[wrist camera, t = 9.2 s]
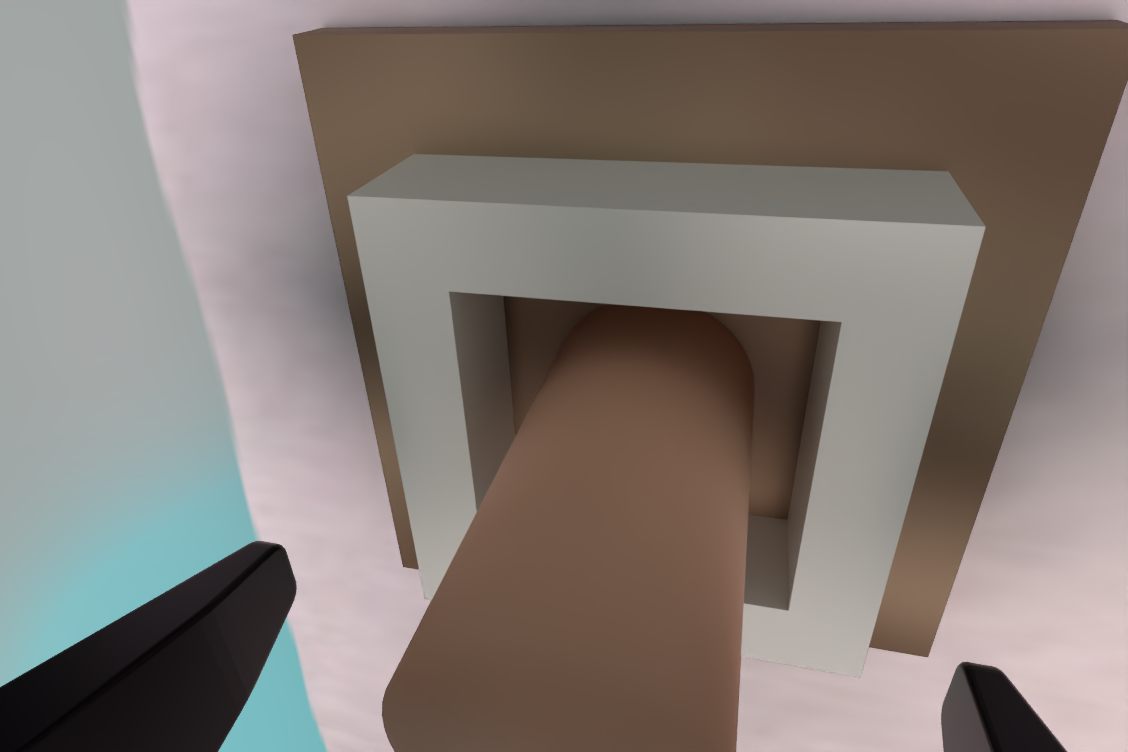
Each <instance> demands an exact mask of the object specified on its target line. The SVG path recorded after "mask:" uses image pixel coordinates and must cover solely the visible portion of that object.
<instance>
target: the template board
mask: <svg viewBox="0 0 1128 752" xmlns="http://www.w3.org/2000/svg"><path fill="white" fill-rule="evenodd" d="M293 40H294V44H295V49H296V54H297V59H298V64H299V68H300V73H301V78H302V83H303V88H304V93H305V97H306V102H307V107H308V112H309V117H310V121H311V126H312V131H313V136H314V141H315V145H316V150H317V155H318V160H319V165H320V169H321V174H322V179H323V184H324V189H325V193H326V198H327V203H328V208H329V213H330V218H331V222H332V227H333V232H334V237H335V242H336V246H337V251H338V256H339V261H340V266H341V270H342V275H343V280H344V285H345V290H346V294H347V299H348V304H349V309H350V314H351V318H352V323H353V328H354V333H355V338H356V343H357V347H358V352H359V357H360V362H361V367H362V371H363V376H364V381H365V386H366V391H367V395H368V400H369V405H370V410H371V415H372V419H373V424H374V429H375V434H376V439H377V444H378V448H379V453H380V458H381V463H382V468H383V472H384V477H385V482H386V487H387V492H388V496H389V501H390V506H391V511H392V516H393V520H394V525H395V530H396V535H397V540H398V544H399V549H400V554H401V559H402V564H403V567H407V568H413V569H419V572H420V577H421V582H422V587H423V592H424V598H425V599H428V600H432V599H433V597H434V595H435V593H436V591H437V589H438V587H439V585H440V583H441V581H442V579H443V577H444V575H445V573H446V571H447V569H448V567H449V565H450V563H451V561H452V559H453V558H454V556H455V554H456V552H457V550H458V548H459V546H460V544H461V542H462V540H463V538H464V536H465V534H466V532H467V530H468V528H469V526H470V524H471V522H472V520H473V518H474V517H475V515H476V513H477V511H478V509H479V507H480V505H481V503H482V501H483V499H484V497H485V495H486V493H487V491H488V489H489V487H490V485H491V483H492V481H493V479H494V477H495V476H496V474H497V472H498V470H499V468H500V466H501V464H502V462H503V460H504V458H505V456H506V454H507V452H508V450H509V448H510V446H511V444H512V442H513V440H514V438H515V436H516V435H517V433H518V431H519V429H520V427H521V425H522V423H523V421H524V419H525V417H526V415H527V413H528V411H529V409H530V407H531V405H532V403H533V401H534V399H535V397H536V395H537V394H538V392H539V390H540V388H541V386H542V384H543V382H544V380H545V378H546V376H547V374H548V372H549V370H550V368H551V366H552V364H553V362H554V360H555V358H556V356H557V354H558V353H559V351H560V349H561V347H562V345H563V343H564V341H565V339H566V337H567V335H568V334H569V333H570V331H571V330H572V329H573V327H574V326H575V325H576V324H577V323H578V322H579V321H580V320H581V319H582V318H584V317H585V316H586V315H588V314H589V313H591V312H592V311H594V310H596V309H597V308H599V307H601V306H603V305H606V304H616V305H629V306H642V307H654V308H667V309H680V310H693V311H705V312H706V313H708V314H710V315H711V316H713V317H714V318H715V319H717V320H718V321H720V322H721V323H722V324H723V325H724V326H725V327H726V328H727V329H729V330H730V331H731V333H732V334H733V335H734V336H735V337H736V338H737V340H738V341H739V342H740V344H741V346H742V347H743V349H744V350H745V352H746V354H747V357H748V359H749V361H750V364H751V367H752V371H753V374H754V383H755V396H754V415H753V434H752V454H751V473H750V492H749V511H748V530H747V549H746V569H745V588H744V607H743V626H742V645H741V656H742V657H747V658H753V659H758V660H764V661H769V662H775V663H780V664H786V665H791V666H797V667H802V668H808V669H813V670H819V671H824V672H830V673H835V674H841V675H846V676H852V677H857V678H860V677H861V673H862V670H863V666H864V662H865V659H866V655H867V652H868V648H869V647H871V648H877V649H883V650H888V651H894V652H900V653H906V654H912V655H917V656H923V657H928V655H929V653H930V650H931V647H932V644H933V641H934V638H935V635H936V632H937V629H938V627H939V624H940V621H941V618H942V615H943V612H944V609H945V606H946V603H947V601H948V598H949V595H950V592H951V589H952V586H953V583H954V580H955V577H956V575H957V572H958V569H959V566H960V563H961V560H962V557H963V554H964V551H965V549H966V546H967V543H968V540H969V537H970V534H971V531H972V528H973V525H974V523H975V520H976V517H977V514H978V511H979V508H980V505H981V502H982V499H983V497H984V494H985V491H986V488H987V485H988V482H989V479H990V476H991V473H992V471H993V468H994V465H995V462H996V459H997V456H998V453H999V450H1000V447H1001V445H1002V442H1003V439H1004V436H1005V433H1006V430H1007V427H1008V424H1009V421H1010V419H1011V416H1012V413H1013V410H1014V407H1015V404H1016V401H1017V398H1018V395H1019V393H1020V390H1021V387H1022V384H1023V381H1024V378H1025V375H1026V372H1027V369H1028V367H1029V364H1030V361H1031V358H1032V355H1033V352H1034V349H1035V346H1036V343H1037V340H1038V338H1039V335H1040V332H1041V329H1042V326H1043V323H1044V320H1045V317H1046V314H1047V312H1048V309H1049V306H1050V303H1051V300H1052V297H1053V294H1054V291H1055V288H1056V286H1057V283H1058V280H1059V277H1060V274H1061V271H1062V268H1063V265H1064V262H1065V260H1066V257H1067V254H1068V251H1069V248H1070V245H1071V242H1072V239H1073V236H1074V234H1075V231H1076V228H1077V225H1078V222H1079V219H1080V216H1081V213H1082V210H1083V208H1084V205H1085V202H1086V199H1087V196H1088V193H1089V190H1090V187H1091V184H1092V182H1093V179H1094V176H1095V173H1096V170H1097V167H1098V164H1099V161H1100V158H1101V156H1102V153H1103V150H1104V147H1105V144H1106V141H1107V138H1108V135H1109V132H1110V130H1111V127H1112V124H1113V121H1114V118H1115V115H1116V112H1117V109H1118V106H1119V104H1120V101H1121V98H1122V95H1123V92H1124V89H1125V86H1126V83H1127V80H1128V23H1125V22H1122V21H1118V20H1094V21H993V22H891V23H790V24H689V25H587V26H486V27H384V28H320V29H316V30H312V31H307V32H303V33H299V34H294V35H293Z"/></svg>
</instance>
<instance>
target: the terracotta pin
mask: <svg viewBox="0 0 1128 752" xmlns="http://www.w3.org/2000/svg"><path fill="white" fill-rule="evenodd" d="M754 396H755V383H754V374H753V371H752V367H751V364H750V361H749V359H748V357H747V354H746V352H745V350H744V349H743V347H742V346H741V344H740V342H739V341H738V340H737V338H736V337H735V336H734V335H733V334H732V333H731V331H730V330H729V329H727V328H726V327H725V326H724V325H723V324H722V323H721V322H720V321H718V320H717V319H715V318H714V317H713V316H711V315H710V314H708V313H706V312H705V311H693V310H680V309H667V308H654V307H642V306H629V305H616V304H606V305H603V306H601V307H599V308H597V309H596V310H594V311H592V312H591V313H589V314H588V315H586V316H585V317H584V318H582V319H581V320H580V321H579V322H578V323H577V324H576V325H575V326H574V327H573V329H572V330H571V331H570V333H569V334H568V335H567V337H566V339H565V341H564V343H563V345H562V347H561V349H560V351H559V353H558V354H557V356H556V358H555V360H554V362H553V364H552V366H551V368H550V370H549V372H548V374H547V376H546V378H545V380H544V382H543V384H542V386H541V388H540V390H539V392H538V394H537V395H536V397H535V399H534V401H533V403H532V405H531V407H530V409H529V411H528V413H527V415H526V417H525V419H524V421H523V423H522V425H521V427H520V429H519V431H518V433H517V435H516V436H515V438H514V440H513V442H512V444H511V446H510V448H509V450H508V452H507V454H506V456H505V458H504V460H503V462H502V464H501V466H500V468H499V470H498V472H497V474H496V476H495V477H494V479H493V481H492V483H491V485H490V487H489V489H488V491H487V493H486V495H485V497H484V499H483V501H482V503H481V505H480V507H479V509H478V511H477V513H476V515H475V517H474V518H473V520H472V522H471V524H470V526H469V528H468V530H467V532H466V534H465V536H464V538H463V540H462V542H461V544H460V546H459V548H458V550H457V552H456V554H455V556H454V558H453V559H452V561H451V563H450V565H449V567H448V569H447V571H446V573H445V575H444V577H443V579H442V581H441V583H440V585H439V587H438V589H437V591H436V593H435V595H434V597H433V599H432V600H431V602H430V604H429V606H428V608H427V610H426V612H425V614H424V616H423V618H422V620H421V622H420V624H419V626H418V628H417V630H416V632H415V634H414V636H413V638H412V640H411V641H410V643H409V645H408V647H407V649H406V651H405V653H404V655H403V657H402V659H401V661H400V663H399V665H398V667H397V669H396V671H395V673H394V675H393V677H392V679H391V680H390V682H389V684H388V686H387V688H386V691H385V694H384V698H383V702H382V717H383V723H384V728H385V731H386V734H387V737H388V739H389V742H390V744H391V746H392V748H393V749H394V751H395V752H736V741H737V722H738V703H739V684H740V665H741V645H742V626H743V607H744V588H745V569H746V549H747V530H748V511H749V492H750V473H751V454H752V434H753V415H754Z"/></svg>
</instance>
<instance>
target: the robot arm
mask: <svg viewBox="0 0 1128 752" xmlns="http://www.w3.org/2000/svg"><path fill="white" fill-rule="evenodd" d="M295 595H296V580H295V577H294V574H293V571H292V568H291V565H290V562H289V559H288V555H287V552H286V550H285V548H284V547H283V546H282V545H280V544H275V543H270V542H264V541H255V542H252V543H250V544H248V545H246V546H245V547H243V548H241V549H239V550H238V551H236V552H234V553H232V554H231V555H229V556H227V557H225V558H224V559H222V560H220V561H218V562H217V563H215V564H213V565H212V566H210V567H208V568H206V569H205V570H203V571H201V572H199V573H198V574H196V575H194V576H192V577H191V578H189V579H187V580H186V581H184V582H182V583H180V584H179V585H177V586H175V587H174V588H172V589H170V590H169V591H166V592H165V593H163V594H161V595H160V596H158V597H156V598H154V599H153V600H151V601H149V602H147V603H146V604H144V605H142V606H140V607H139V608H137V609H135V610H133V611H132V612H130V613H128V614H126V615H125V616H123V617H121V618H120V619H118V620H116V621H114V622H113V623H111V624H109V625H107V626H106V627H104V628H103V629H101V630H99V631H97V632H95V633H94V634H92V635H90V636H88V637H87V638H85V639H83V640H81V641H80V642H78V643H76V644H74V645H73V646H71V647H69V648H68V649H66V650H64V651H62V652H61V653H59V654H57V655H55V656H54V657H52V658H50V659H48V660H47V661H45V662H43V663H42V664H40V665H38V666H36V667H34V668H33V669H31V670H29V671H28V672H26V673H24V674H22V675H21V676H19V677H17V678H15V679H14V680H12V681H10V682H8V683H7V684H5V685H3V686H1V687H0V752H218V751H219V749H220V747H221V745H222V744H223V742H224V740H225V739H226V737H227V735H228V733H229V732H230V730H231V728H232V727H233V725H234V723H235V721H236V720H237V718H238V716H239V715H240V713H241V711H242V709H243V707H244V705H245V703H246V702H247V700H248V698H249V696H250V694H251V692H252V690H253V688H254V686H255V684H256V682H257V680H258V678H259V676H260V673H261V671H262V669H263V667H264V665H265V663H266V661H267V658H268V656H269V654H270V652H271V650H272V647H273V645H274V643H275V641H276V639H277V636H278V634H279V632H280V630H281V628H282V625H283V623H284V621H285V619H286V617H287V615H288V613H289V610H290V608H291V606H292V604H293V602H294V599H295ZM941 725H942V737H943V748H944V752H1067V751H1066V750H1065V748H1064V747H1063V746H1062V745H1061V743H1060V742H1059V741H1058V740H1057V738H1056V737H1055V736H1054V735H1053V733H1052V732H1051V731H1050V730H1049V728H1048V727H1047V726H1046V725H1045V723H1044V722H1043V721H1042V720H1041V718H1040V717H1039V716H1038V715H1037V714H1036V712H1035V711H1034V710H1033V709H1032V707H1031V706H1030V705H1029V704H1028V702H1027V701H1026V700H1025V699H1024V697H1023V696H1022V695H1021V694H1020V692H1019V691H1018V690H1017V689H1016V687H1015V686H1014V685H1013V684H1012V682H1011V681H1010V680H1009V679H1008V677H1007V676H1006V675H1005V674H1004V673H1003V672H1002V671H1001V670H999V669H998V668H996V667H992V666H987V665H981V664H975V663H970V662H962V663H960V664H959V665H958V667H957V668H956V671H955V673H954V676H953V678H952V681H951V684H950V686H949V689H948V692H947V694H946V697H945V699H944V702H943V706H942V714H941Z"/></svg>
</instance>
